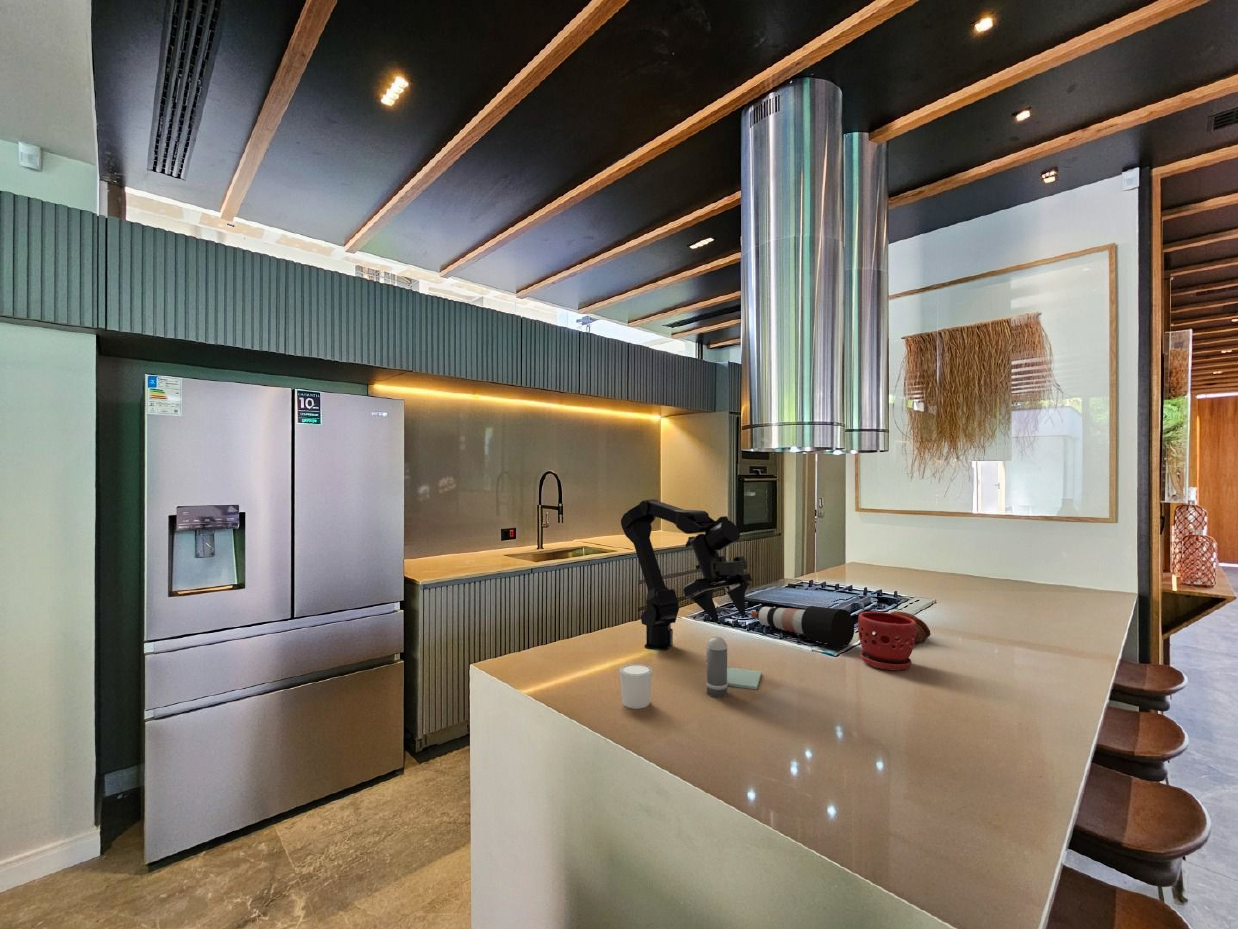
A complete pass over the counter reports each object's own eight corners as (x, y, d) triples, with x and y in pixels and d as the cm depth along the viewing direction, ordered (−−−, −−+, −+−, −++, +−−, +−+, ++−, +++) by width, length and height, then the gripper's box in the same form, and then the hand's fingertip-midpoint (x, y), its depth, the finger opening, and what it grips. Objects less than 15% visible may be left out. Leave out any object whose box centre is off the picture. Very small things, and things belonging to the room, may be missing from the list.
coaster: (712, 683, 124) (712, 680, 124) (719, 668, 134) (719, 666, 134) (756, 689, 121) (756, 686, 121) (761, 674, 130) (761, 671, 130)
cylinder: (704, 695, 117) (704, 638, 118) (708, 687, 122) (708, 633, 122) (725, 698, 116) (725, 641, 116) (729, 690, 120) (729, 635, 120)
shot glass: (656, 698, 116) (656, 665, 116) (647, 712, 109) (647, 676, 109) (625, 694, 118) (625, 662, 118) (615, 707, 112) (615, 672, 112)
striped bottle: (759, 634, 178) (767, 605, 181) (850, 652, 149) (857, 616, 153) (738, 624, 173) (746, 594, 177) (827, 640, 145) (835, 603, 149)
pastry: (861, 631, 167) (861, 605, 167) (908, 630, 168) (908, 604, 168) (895, 649, 150) (895, 619, 150) (947, 647, 152) (947, 618, 152)
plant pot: (903, 678, 128) (903, 627, 128) (849, 663, 138) (848, 616, 138) (924, 665, 136) (924, 617, 137) (872, 652, 146) (871, 607, 146)
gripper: (701, 548, 125) (725, 614, 119) (755, 542, 136) (779, 602, 130) (673, 565, 133) (694, 628, 127) (725, 558, 144) (747, 616, 138)
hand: (730, 618), depth 130 cm, fingers open, 9 cm apart
